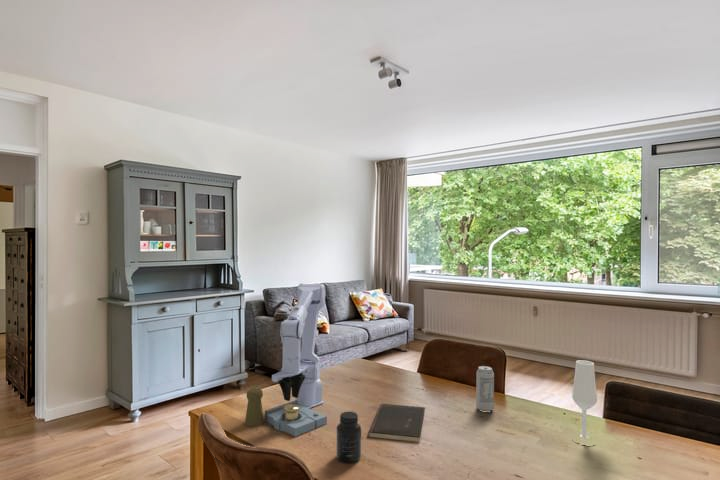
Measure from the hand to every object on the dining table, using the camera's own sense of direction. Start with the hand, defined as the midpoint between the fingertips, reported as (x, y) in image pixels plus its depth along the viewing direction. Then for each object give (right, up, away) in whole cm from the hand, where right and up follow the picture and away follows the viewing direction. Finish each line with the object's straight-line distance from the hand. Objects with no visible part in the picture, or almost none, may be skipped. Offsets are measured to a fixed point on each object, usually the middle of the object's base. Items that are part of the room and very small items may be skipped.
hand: (291, 398), depth 141 cm
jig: (+1, -8, +1) cm, 9 cm away
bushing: (0, -8, -1) cm, 8 cm away
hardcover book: (+35, -10, +1) cm, 36 cm away
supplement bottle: (+19, -9, -21) cm, 30 cm away
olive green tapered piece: (-12, -9, +1) cm, 15 cm away
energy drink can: (+67, -9, +14) cm, 69 cm away
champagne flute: (+90, -10, -10) cm, 91 cm away
